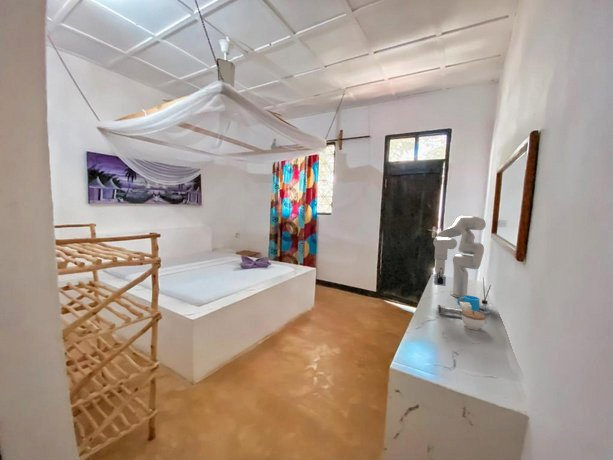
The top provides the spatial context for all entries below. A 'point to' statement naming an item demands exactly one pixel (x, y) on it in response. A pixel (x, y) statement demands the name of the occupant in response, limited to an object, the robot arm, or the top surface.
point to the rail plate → (450, 314)
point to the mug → (471, 302)
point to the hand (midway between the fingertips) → (439, 282)
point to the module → (437, 280)
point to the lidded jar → (473, 319)
